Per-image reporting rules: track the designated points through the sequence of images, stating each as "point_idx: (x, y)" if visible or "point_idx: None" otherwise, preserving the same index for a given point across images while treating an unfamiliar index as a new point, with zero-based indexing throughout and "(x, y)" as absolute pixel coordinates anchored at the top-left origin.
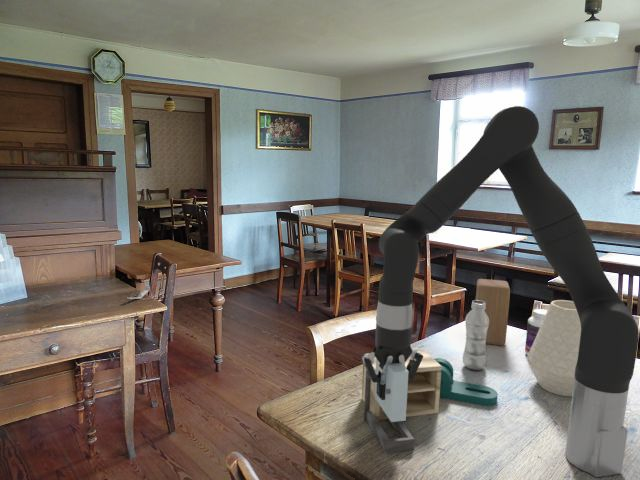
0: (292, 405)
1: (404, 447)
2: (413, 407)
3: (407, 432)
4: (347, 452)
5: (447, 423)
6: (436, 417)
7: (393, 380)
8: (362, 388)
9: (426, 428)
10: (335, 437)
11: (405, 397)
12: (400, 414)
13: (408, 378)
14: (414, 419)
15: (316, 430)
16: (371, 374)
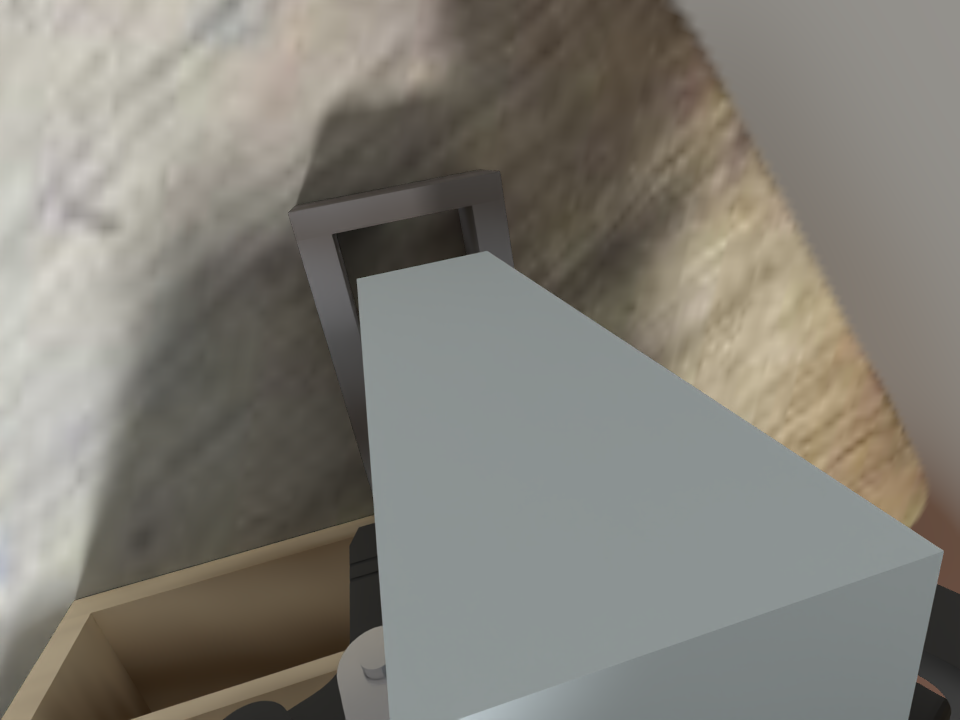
0: None
1: (361, 194)
2: (239, 611)
3: (328, 294)
4: (684, 185)
5: (15, 503)
6: (92, 555)
7: (739, 418)
8: None
9: (176, 437)
10: (710, 318)
11: (385, 344)
12: (415, 281)
13: (293, 717)
14: (246, 518)
15: (779, 371)
16: (949, 608)
